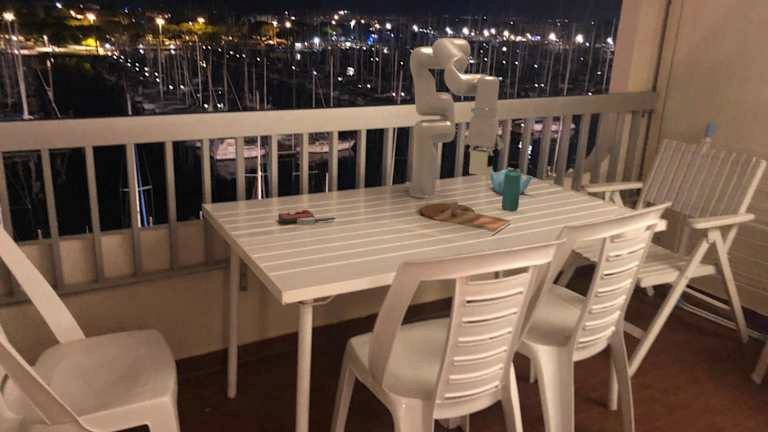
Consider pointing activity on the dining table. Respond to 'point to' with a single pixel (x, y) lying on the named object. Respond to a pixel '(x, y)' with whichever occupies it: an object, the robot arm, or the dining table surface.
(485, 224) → the board
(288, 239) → the dining table surface
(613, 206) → the dining table surface
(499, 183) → the teapot
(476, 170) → the beige upright block
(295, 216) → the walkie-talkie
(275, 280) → the dining table surface
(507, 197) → the beverage bottle
